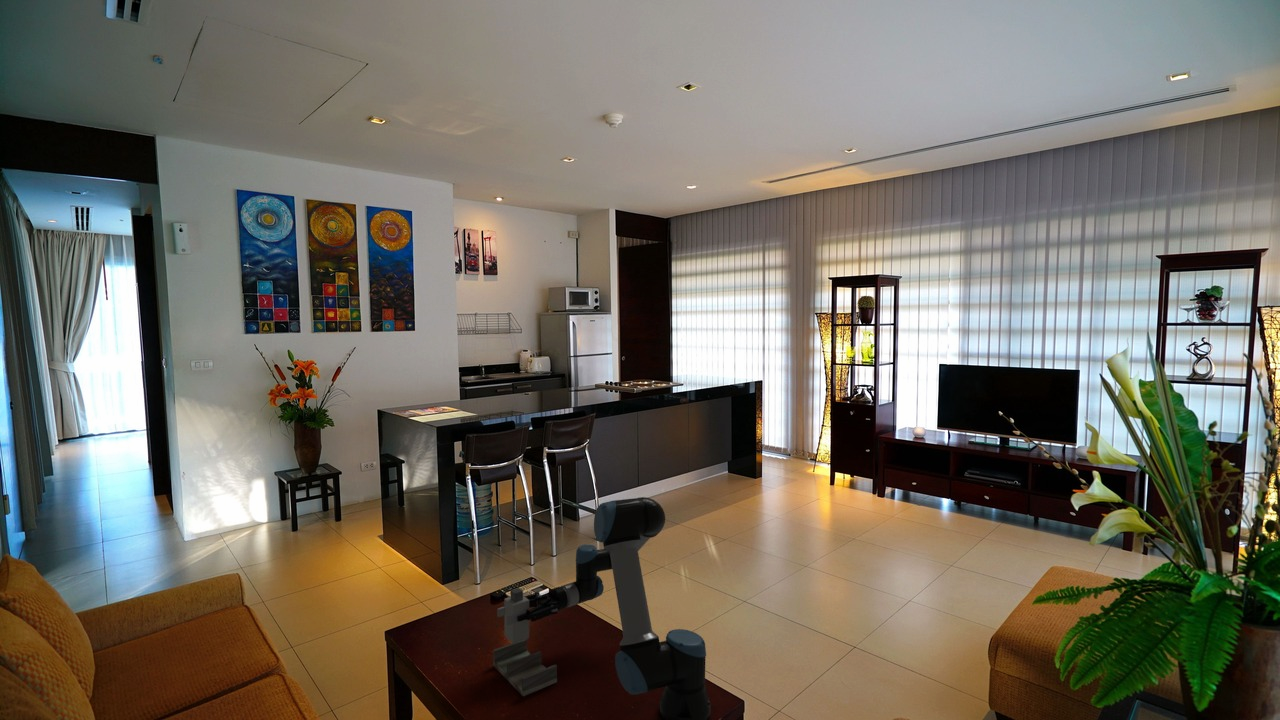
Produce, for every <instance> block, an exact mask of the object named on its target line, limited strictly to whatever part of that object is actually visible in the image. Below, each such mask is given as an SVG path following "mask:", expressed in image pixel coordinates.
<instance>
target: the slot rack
mask: <svg viewBox="0 0 1280 720" xmlns="http://www.w3.org/2000/svg"><path fill="white" fill-rule="evenodd" d="M492 656H493V661H492V662H493V663H492V665H493V667H494V668H495V669H496V670H497V671H498V673H500V674H501V675H502V676H503V677H504V678H505V679H506V680H507V681H508V683H509V684H510V685H511V686H513V688H514V689H515V690H516V691H517V692H518V693H519V694H520V695H521V696H522V697H526V696H528V695H530V694H533V693H536V692H537V691H539V690H542V689H544V688H547V687H549V686H551V685H553V684H554V685H555V684H557V682H558V665H557V664H553V665H550V666H548V667H546V666H545V665H543V664H542V652H541V651H540V650H539V651H536V652H533V653H530V652H529V651H528V638H527V639H525V640H522V641H519V642H516V643H514V644H513V643H512V642H511V643H509V644H507V645H504V646H501V647H498V648H495V649H493V655H492Z"/></svg>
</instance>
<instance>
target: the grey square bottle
mask: <svg viewBox="0 0 1280 720" xmlns="http://www.w3.org/2000/svg"><path fill="white" fill-rule="evenodd" d="M525 596H526V595H525ZM525 596H524V590H522V589H521V588H520V587H516V588H514V589H511V590H510V596H508V597H506V598H504V599H503V600H504V605H503V607H504V608H505V615H504V637H505V638H506V639H507V640H508V641H509V642H510V643H511V644H512V643H513V644H514V643H516V642H519V641H522V640H525V639H527V640H528V639H529V638H530V620H527V619H526V620H523V621H520V622H517V623H514V624H511V625H507V616H510V615H513V614H516V613H519V612H522V611H526V613H527V610H530V608H529V600H528V599H527V598H526V597H525Z"/></svg>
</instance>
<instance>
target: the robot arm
mask: <svg viewBox="0 0 1280 720" xmlns="http://www.w3.org/2000/svg"><path fill="white" fill-rule="evenodd" d="M665 523H666V514H665V511H664V508H663V506H661V504H660V503H659V502H657V501H656V500H654V499H652V498H650V497H644V496H643V497H634V498H626V499H624V498H623V499H616V500H610V501H606V502H602V503H600V504H599V505H598V506H597V508H596V509H595V513H594V518H593V530H594V531H593V532H594V533H593V534H594V536H595V539H596V541H597V542H599V543H602V544H603V548H602V549H600V548H599V549H597V547H596V546H595V545H594V544H582V545H579V546H578V547H577V548H576V553H575V581H572V582H570V583H566V584H563V585H560V586H557V587H554V588H551V589H550V590H549V592H548V593H546V594H540V592H539V591H536V592H534V593H531V594H528V595H525V597H526V598H527V599H528V600H529V610H527V613H526V611H522V612H519V613H516V614H513V615H510V616H507V625H511V624H514V623H517V622H520V621H523V620H526V619H527V620H529V621H530V622H532V623H533V622H536V621H538V620H541V619H543V618H546V617H549V616H551V615H556V614H558V612H559V611H562V610H564V609H566V608H571V607H573V606H575V605H578V604H581V603H585V602H587V601H591V600H594V599H596V598H598V597H600V596H602V595H603V593H604V588H605V587H604V582H603V580H602V578H601V577H600V576H599V575H598V572H604V571H610V570H612V574H613V582H614V586H615V593H616V599H617V605H618V611H619V617H620V623H621V630H622V636H623V638H622V640H621V641H620V642H619V649H620V650H619V651H618V652H616V653H615V656H614V660H615V661H614V664H615V669H616V673H617V677H618V679H619V682H620V684H621V686H623V689H624V690H625V691H626V692H627V693H628V694H630V695H639V694H646V693H647V692H650V691H653V690H657V689H661V688H663V692H662V696H661V697H660V700H659V714H660V716H661V717H662V718H663V720H707V719H709V718H710V716H711V701H710V699H709V695H708V692H707V689H706V657H707V651H706V650H707V649H706V643H705V640H704V637H702V636H701V635H699V634H698V633H697V632H694V631H691V630H688V629H683V628H678V629H671V630H669V631H668V632H667V633H666V636H665V640H663V641H660V638H659V635H658V634H657V633H655V632H654V631H653V627H652V623H651V622H652V621H651V617H650V611H649V605H648V600H647V599H648V598H647V595H646V589H645V585H644V579H643V572H642V566H641V561H640V557H639V550H641V549H642V548H643V547H644V546H645V544H646V543H647V542H649V540H650V539H652V538H655V537H657V536H658V534H660V533H661V532H662V530H663V529H664V528H665V527H664V526H665ZM530 608H531V609H530ZM496 611H497V614H496V616H497V617H498V618H500V617H501V618H502V617H505V608H504V606H502V607H499V608H498V607H497V610H496ZM709 715H710V716H709ZM708 717H709V718H708Z"/></svg>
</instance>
